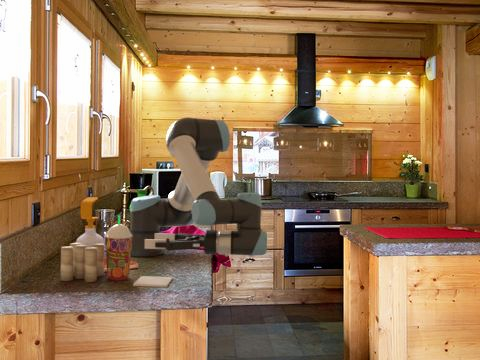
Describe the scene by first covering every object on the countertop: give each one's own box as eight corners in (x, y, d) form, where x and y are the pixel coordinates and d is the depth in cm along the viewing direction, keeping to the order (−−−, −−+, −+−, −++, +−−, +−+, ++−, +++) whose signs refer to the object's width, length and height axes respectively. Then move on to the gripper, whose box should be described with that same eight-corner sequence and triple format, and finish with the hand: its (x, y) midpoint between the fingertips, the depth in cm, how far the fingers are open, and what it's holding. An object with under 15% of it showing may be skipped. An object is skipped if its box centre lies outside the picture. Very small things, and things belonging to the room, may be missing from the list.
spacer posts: (72, 273, 154) (72, 242, 154) (105, 274, 154) (106, 243, 154) (58, 280, 144) (59, 248, 143) (94, 282, 143) (94, 249, 143)
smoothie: (104, 282, 143) (105, 217, 143) (104, 276, 151) (105, 214, 151) (132, 281, 146) (133, 216, 145) (130, 275, 154) (132, 214, 153)
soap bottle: (108, 268, 163) (110, 197, 162) (93, 273, 154) (95, 198, 154) (86, 265, 165) (87, 196, 165) (70, 271, 157) (71, 197, 156)
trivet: (141, 277, 150) (141, 276, 150) (172, 279, 150) (172, 277, 150) (133, 285, 140) (133, 283, 140) (166, 287, 140) (166, 285, 140)
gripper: (213, 261, 134) (140, 259, 135) (220, 247, 159) (158, 246, 160) (214, 235, 134) (140, 233, 135) (220, 225, 159) (158, 224, 160)
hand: (149, 240), depth 148 cm, fingers open, 13 cm apart
